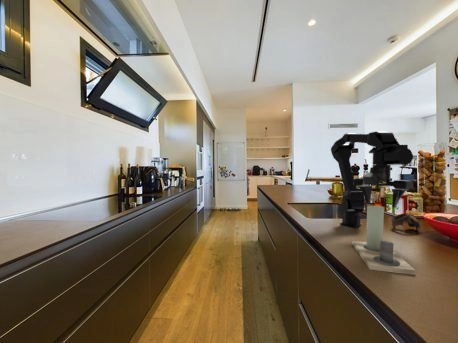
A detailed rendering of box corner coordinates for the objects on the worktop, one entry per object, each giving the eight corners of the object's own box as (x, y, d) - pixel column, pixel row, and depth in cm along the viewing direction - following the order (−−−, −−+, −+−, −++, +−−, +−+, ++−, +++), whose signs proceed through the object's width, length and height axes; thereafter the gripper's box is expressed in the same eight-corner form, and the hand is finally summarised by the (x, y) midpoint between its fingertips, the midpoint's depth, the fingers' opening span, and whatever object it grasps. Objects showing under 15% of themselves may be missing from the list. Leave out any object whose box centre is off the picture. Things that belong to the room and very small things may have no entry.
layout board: (352, 244, 80) (352, 226, 79) (385, 247, 77) (386, 228, 76) (369, 269, 60) (370, 245, 60) (415, 274, 58) (415, 249, 57)
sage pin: (363, 245, 74) (363, 205, 74) (375, 245, 75) (376, 205, 74) (372, 250, 70) (373, 208, 70) (386, 250, 70) (387, 208, 70)
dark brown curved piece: (420, 236, 90) (408, 217, 92) (396, 240, 98) (384, 223, 99) (428, 224, 97) (416, 206, 99) (405, 229, 105) (394, 212, 106)
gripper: (345, 164, 92) (344, 203, 92) (397, 164, 75) (396, 212, 76) (362, 164, 97) (361, 201, 97) (414, 164, 80) (413, 209, 81)
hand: (380, 205), depth 88 cm, fingers open, 9 cm apart
